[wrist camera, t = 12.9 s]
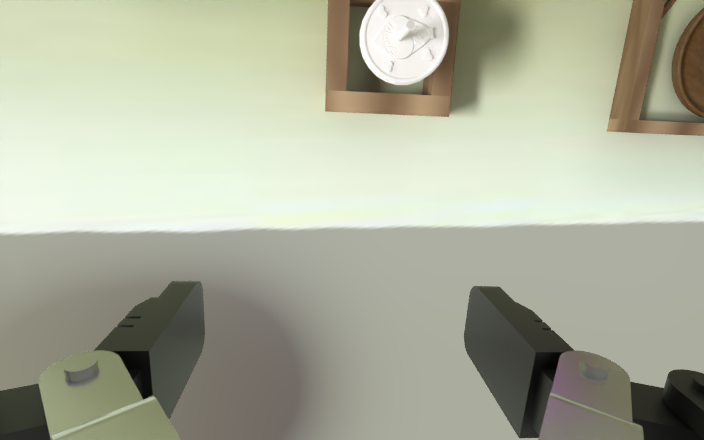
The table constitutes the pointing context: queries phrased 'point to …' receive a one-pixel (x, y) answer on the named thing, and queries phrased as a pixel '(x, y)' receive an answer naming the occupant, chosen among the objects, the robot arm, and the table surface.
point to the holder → (364, 86)
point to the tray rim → (641, 75)
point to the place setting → (690, 64)
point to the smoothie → (404, 39)
